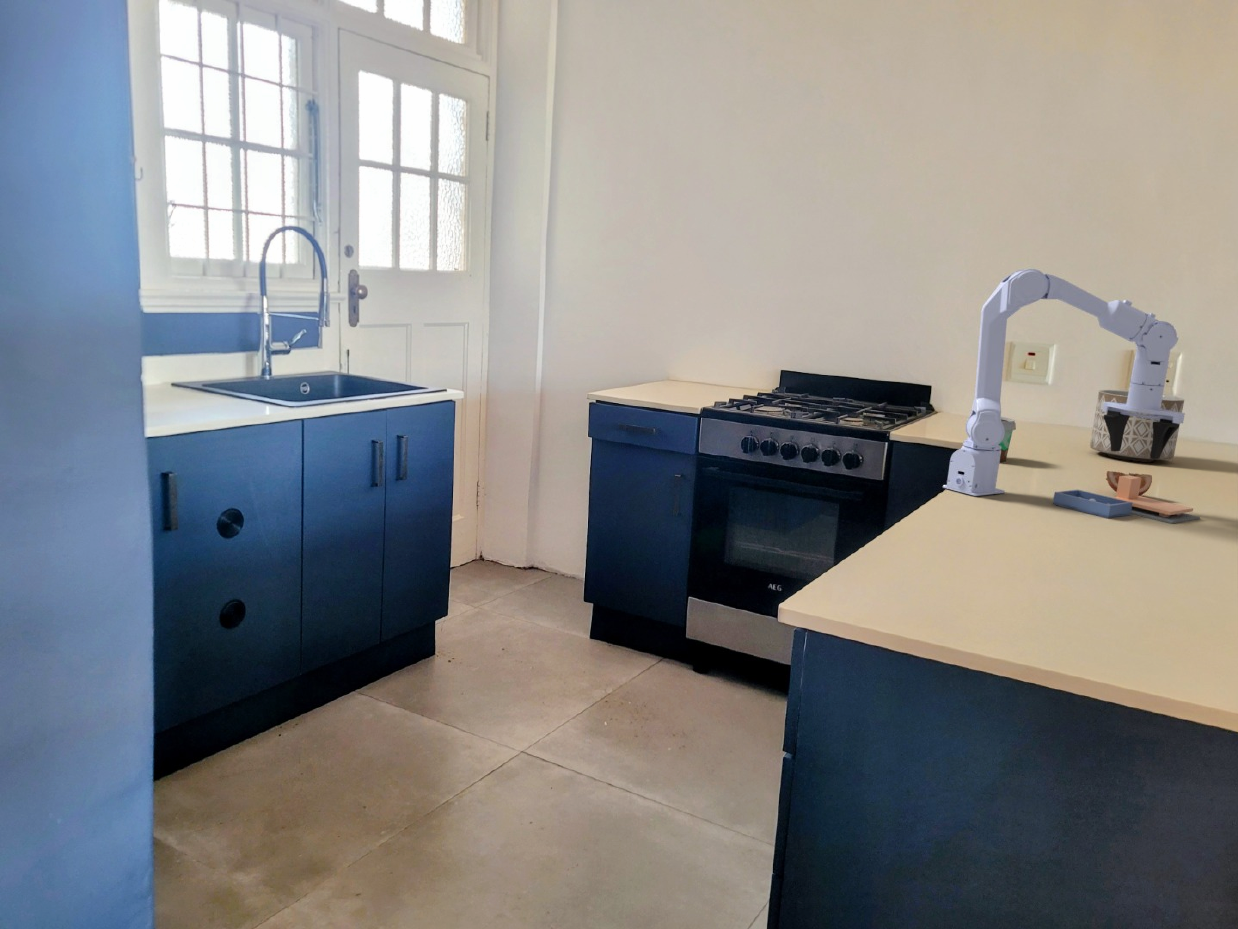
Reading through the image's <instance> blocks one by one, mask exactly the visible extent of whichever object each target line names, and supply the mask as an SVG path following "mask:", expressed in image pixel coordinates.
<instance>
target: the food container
mask: <svg viewBox="0 0 1238 929" xmlns="http://www.w3.org/2000/svg"><path fill="white" fill-rule="evenodd" d="M1001 421H1002V424H1003V426H1004V429H1005V435H1004V438H1003V440H1002V441H1001V443H1000V444H998V445H999V446H1001V447H1002V448H1001V455H1000V462H999V463H1005V462H1006V461H1007V457H1008V453H1009V449H1010V443H1011V438H1012V436H1013V435H1012V434H1013V431H1016V429H1017V426H1016V425H1017V424H1016V422H1015V419H1013V418H1011V417H1010V418H1009V417H1006V416H1001Z"/></svg>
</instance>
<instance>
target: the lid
mask: <svg viewBox="0 0 1238 929" xmlns="http://www.w3.org/2000/svg"><path fill="white" fill-rule="evenodd" d="M1140 483H1141V478H1139V477H1135V476H1130V475H1128V476H1119V482H1118V488H1117V492H1115V493H1116V494H1115V496H1110V497H1111V498H1116V499H1120V500H1124V501H1129V502H1133V504H1132V506H1134V507H1138V508H1142V509H1147V510H1151V511H1155V512H1159V516H1162V517H1169V515H1180V514H1181V513H1185V514H1187V513H1193V511H1194V507H1189V506H1184V505H1180V504H1176V503H1173V502H1172V503H1171V502H1166V501H1162V500H1158V499H1154V498H1150V497H1145V496H1142V495H1140V496H1138V495H1139V489H1140Z"/></svg>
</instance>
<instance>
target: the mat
mask: <svg viewBox="0 0 1238 929" xmlns="http://www.w3.org/2000/svg"><path fill="white" fill-rule="evenodd" d="M1131 515H1135V516H1139V517H1143V518H1147V519H1151V520H1156V521H1160V522H1163V523H1168V524H1171V525H1172V524H1178V523H1184V522H1189V521H1195V520H1196V521H1197V520H1200V519H1201V517H1200V516H1198V515H1193V514H1190V513H1181V514H1180V515H1169V517H1162V516H1159V512H1155V511H1151V510H1147V509H1142V508H1138V507H1134V506H1132V509H1131Z"/></svg>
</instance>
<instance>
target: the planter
mask: <svg viewBox="0 0 1238 929" xmlns="http://www.w3.org/2000/svg"><path fill="white" fill-rule="evenodd" d="M1128 393H1129V390H1123V389H1122V390H1121V389H1100V390H1099V391H1098V395H1097V400H1096V407H1095V411H1094V412H1095V414H1094V421H1093V425H1092V431H1091V432H1092V433H1091V438H1090V444H1089V447H1090V448H1091V449H1092V450H1095V451H1097V452H1100V453H1105V454H1106V455H1108V456H1107V457H1109V456H1110V457H1109V458H1113V459H1118V460H1123V461H1128V460H1133V461H1132V462H1137V461H1141V462H1140V463H1152V462H1151V461H1153V460H1155V459H1151V458H1150V453H1151V448H1152V442H1153V422H1157V421H1159V422H1160V420H1155V419H1149V418H1143V417H1136V416H1130V417H1129V419H1128V422H1127V424H1126V427H1125V430H1124V434H1123V440H1122V445H1121V449H1120V451H1111V443H1110V436H1109V431H1108V428H1107V425H1106V423H1105V420H1104V415H1107V413H1108V412H1102V409H1103V403H1104V402H1114V403H1122V404H1127V399H1128ZM1184 403H1185V399H1184V398H1183V397H1178V396H1173V395H1166V394H1163V396H1162V402H1161V407H1160V409H1165V410H1170V411H1175V412H1181V413H1183V408H1184ZM1130 413H1136V414H1142V415H1149V416H1151V415H1150V414H1147V413H1139V412H1130ZM1155 417H1157V416H1155ZM1180 425H1181V423H1179V428H1178V429H1177V430H1176V431H1175V432H1174V433H1173V435H1172V436H1171V437H1170V439H1169V440H1168V442H1167V443H1166V445H1165V447H1164V449H1163V451H1162V453H1161V455H1160V458H1159V459H1157V460H1171V459H1173V458H1174V457H1175V454H1176V447H1177V441H1178V436H1179V431H1180ZM1153 462H1154V461H1153Z"/></svg>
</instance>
